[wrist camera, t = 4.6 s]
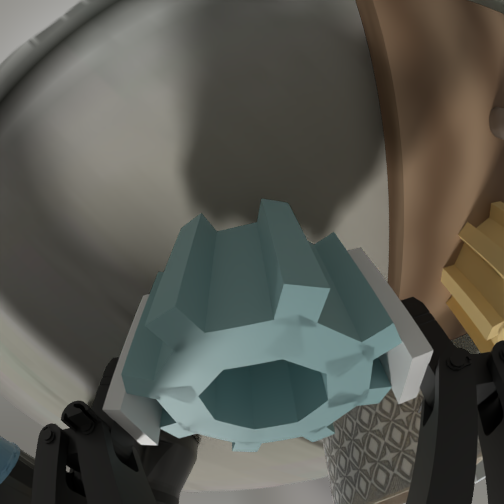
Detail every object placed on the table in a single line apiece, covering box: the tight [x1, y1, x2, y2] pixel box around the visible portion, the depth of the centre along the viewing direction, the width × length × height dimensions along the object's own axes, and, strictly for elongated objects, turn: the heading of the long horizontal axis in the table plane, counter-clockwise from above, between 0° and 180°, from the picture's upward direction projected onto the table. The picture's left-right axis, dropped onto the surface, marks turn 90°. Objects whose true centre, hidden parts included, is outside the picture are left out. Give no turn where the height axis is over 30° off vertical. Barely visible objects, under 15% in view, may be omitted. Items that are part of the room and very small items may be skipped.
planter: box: [322, 388, 483, 504], centre depth 22 cm, size 16×16×13 cm
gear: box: [121, 199, 402, 452], centre depth 11 cm, size 9×9×6 cm
